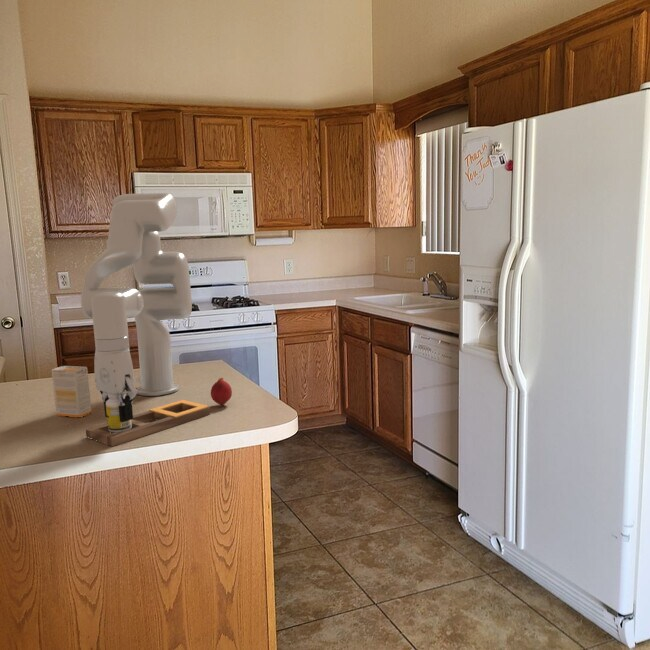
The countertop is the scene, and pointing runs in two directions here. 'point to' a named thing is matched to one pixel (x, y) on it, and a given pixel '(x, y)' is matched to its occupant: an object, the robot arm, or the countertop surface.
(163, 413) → the socket rail
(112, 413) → the supplement bottle
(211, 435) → the countertop surface
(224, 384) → the onion
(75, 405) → the supplement box
